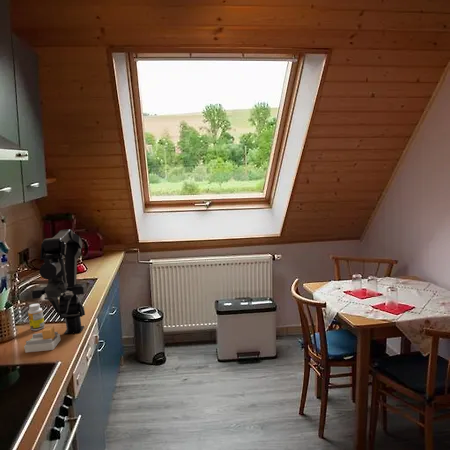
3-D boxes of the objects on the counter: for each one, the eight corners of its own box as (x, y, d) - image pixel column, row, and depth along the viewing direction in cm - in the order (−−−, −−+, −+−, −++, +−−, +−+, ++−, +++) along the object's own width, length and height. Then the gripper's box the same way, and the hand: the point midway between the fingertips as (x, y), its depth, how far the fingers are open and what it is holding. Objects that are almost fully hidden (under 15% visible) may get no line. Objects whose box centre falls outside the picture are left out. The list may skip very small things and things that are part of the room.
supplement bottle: (30, 327, 185) (27, 304, 184) (44, 324, 188) (41, 301, 186) (30, 332, 180) (26, 308, 179) (44, 329, 182) (41, 305, 181)
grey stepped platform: (34, 342, 169) (32, 333, 168) (60, 339, 169) (59, 330, 169) (25, 352, 160) (23, 342, 159) (53, 349, 161) (51, 340, 160)
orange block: (47, 337, 166) (45, 326, 166) (55, 336, 166) (53, 326, 166) (43, 341, 162) (41, 331, 162) (51, 340, 163) (50, 330, 162)
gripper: (22, 280, 153) (28, 323, 155) (77, 275, 154) (82, 318, 156) (33, 272, 164) (39, 312, 166) (84, 268, 165) (89, 308, 167)
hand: (62, 313), depth 163 cm, fingers open, 3 cm apart
